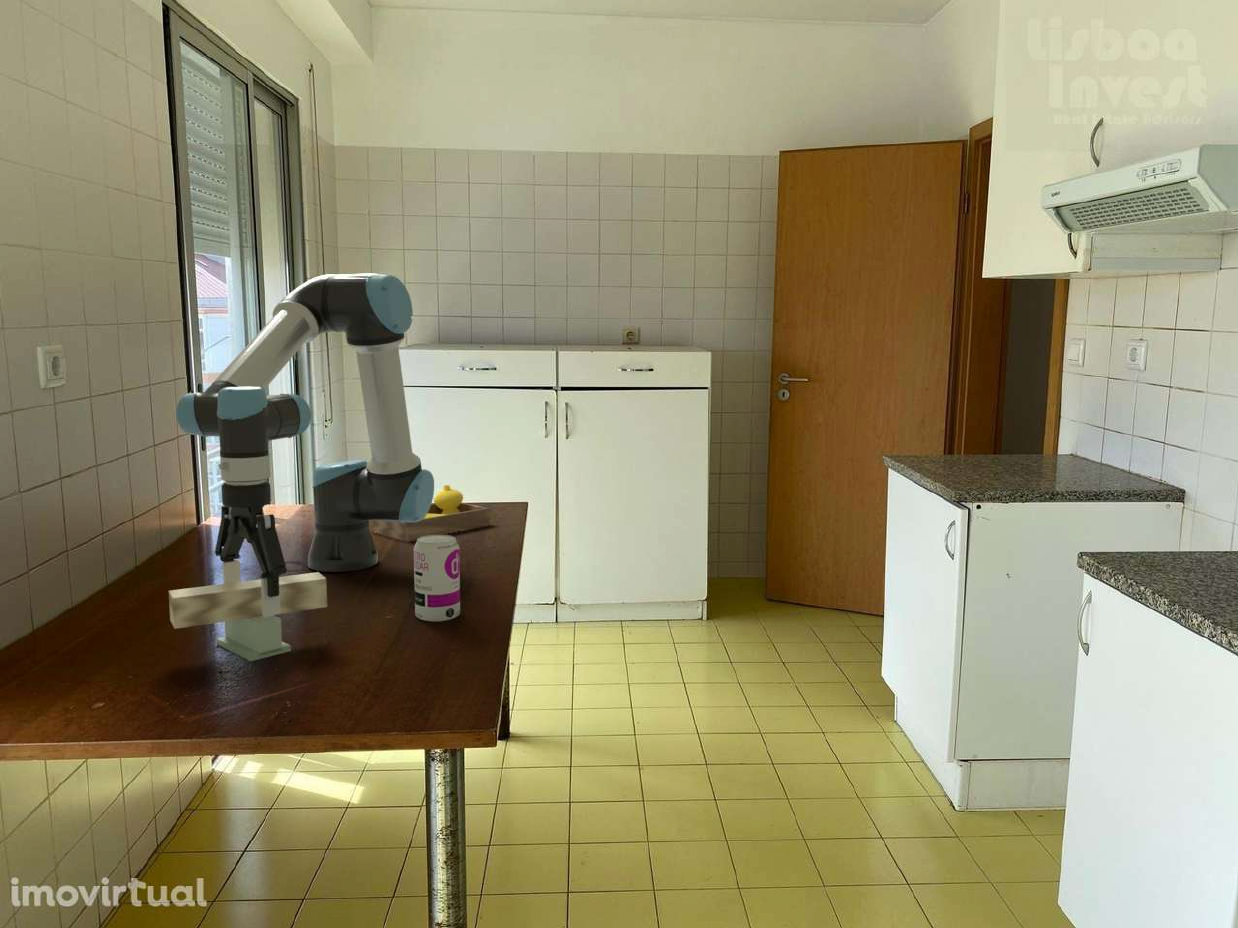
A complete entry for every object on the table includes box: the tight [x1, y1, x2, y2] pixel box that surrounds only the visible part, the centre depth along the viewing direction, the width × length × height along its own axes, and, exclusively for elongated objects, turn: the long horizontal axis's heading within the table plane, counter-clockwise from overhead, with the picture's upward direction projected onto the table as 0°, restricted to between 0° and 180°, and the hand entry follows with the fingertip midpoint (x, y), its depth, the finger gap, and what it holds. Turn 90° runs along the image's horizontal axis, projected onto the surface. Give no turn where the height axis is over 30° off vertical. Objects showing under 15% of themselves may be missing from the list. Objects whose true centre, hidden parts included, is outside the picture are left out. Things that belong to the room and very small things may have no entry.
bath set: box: [423, 484, 464, 519], centre depth 255 cm, size 20×10×11 cm, turn 145°
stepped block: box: [216, 615, 292, 662], centre depth 161 cm, size 12×7×6 cm, turn 47°
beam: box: [168, 571, 328, 630], centre depth 161 cm, size 24×5×5 cm, turn 122°
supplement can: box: [413, 534, 461, 622], centre depth 179 cm, size 8×8×15 cm
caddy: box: [370, 502, 491, 543], centre depth 252 cm, size 16×26×6 cm, turn 137°
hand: (251, 606), depth 161 cm, fingers open, 13 cm apart
